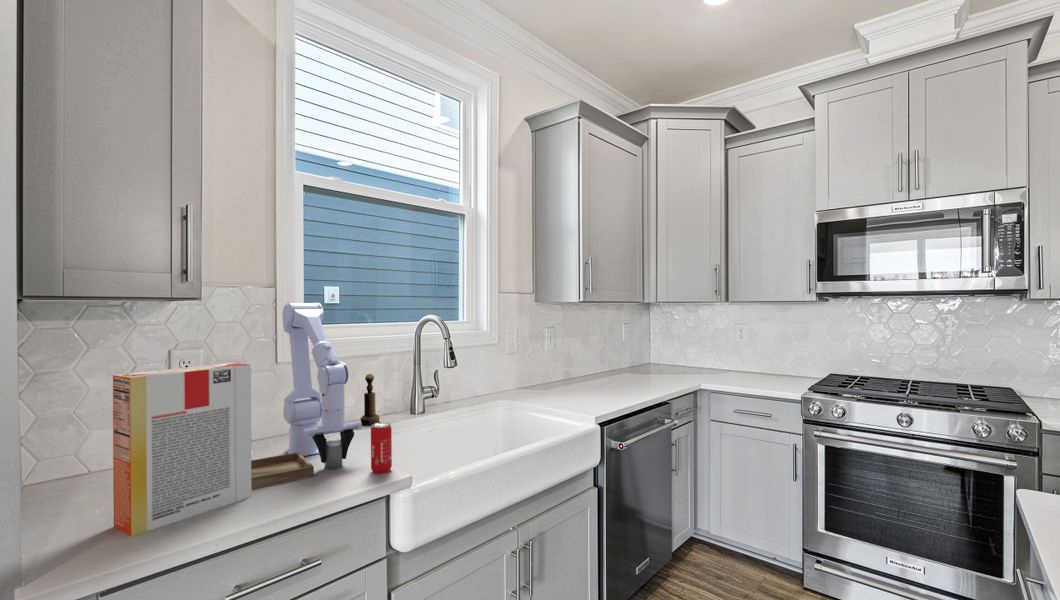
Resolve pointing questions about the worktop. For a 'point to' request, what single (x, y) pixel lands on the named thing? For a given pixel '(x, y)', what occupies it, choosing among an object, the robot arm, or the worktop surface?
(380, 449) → the beverage can
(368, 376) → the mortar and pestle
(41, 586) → the worktop surface
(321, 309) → the robot arm
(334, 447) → the cylinder
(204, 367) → the cereal box
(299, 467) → the walnut tray
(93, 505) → the worktop surface
